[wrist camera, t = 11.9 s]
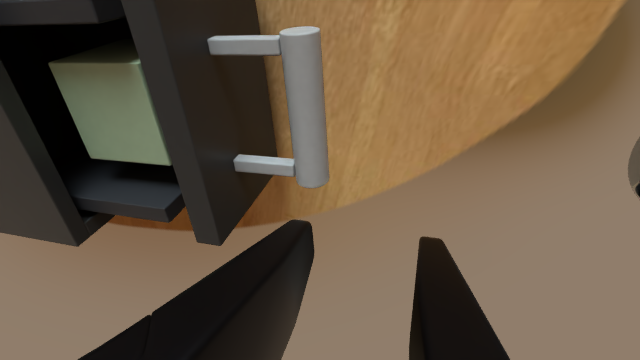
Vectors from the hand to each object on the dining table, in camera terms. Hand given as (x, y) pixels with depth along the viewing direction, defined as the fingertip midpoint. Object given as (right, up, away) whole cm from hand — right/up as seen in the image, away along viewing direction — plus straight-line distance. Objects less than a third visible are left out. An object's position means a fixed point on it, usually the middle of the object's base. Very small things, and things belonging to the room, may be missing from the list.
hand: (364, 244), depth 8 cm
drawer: (-8, +7, +12) cm, 16 cm away
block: (-8, +6, +11) cm, 15 cm away
